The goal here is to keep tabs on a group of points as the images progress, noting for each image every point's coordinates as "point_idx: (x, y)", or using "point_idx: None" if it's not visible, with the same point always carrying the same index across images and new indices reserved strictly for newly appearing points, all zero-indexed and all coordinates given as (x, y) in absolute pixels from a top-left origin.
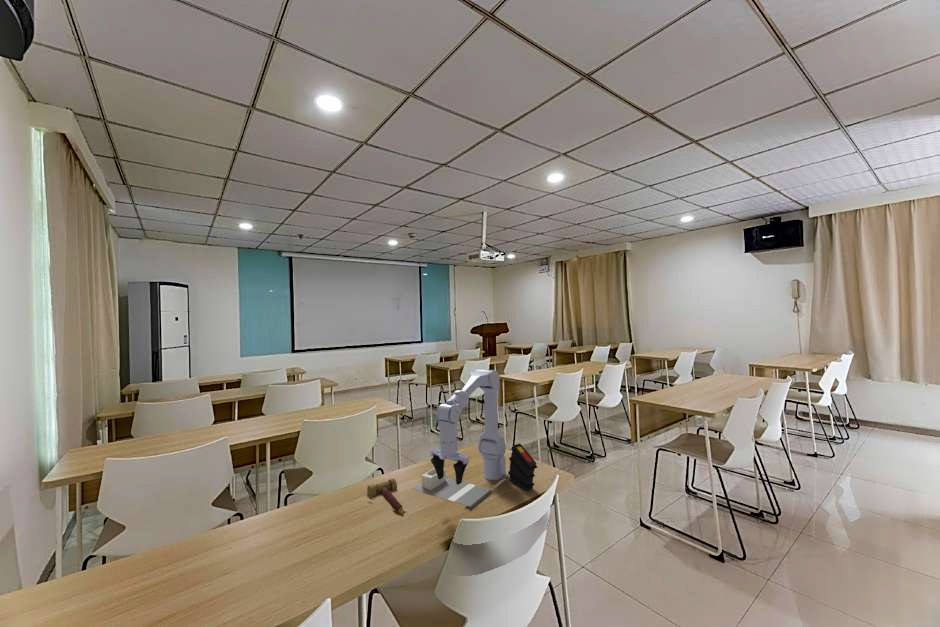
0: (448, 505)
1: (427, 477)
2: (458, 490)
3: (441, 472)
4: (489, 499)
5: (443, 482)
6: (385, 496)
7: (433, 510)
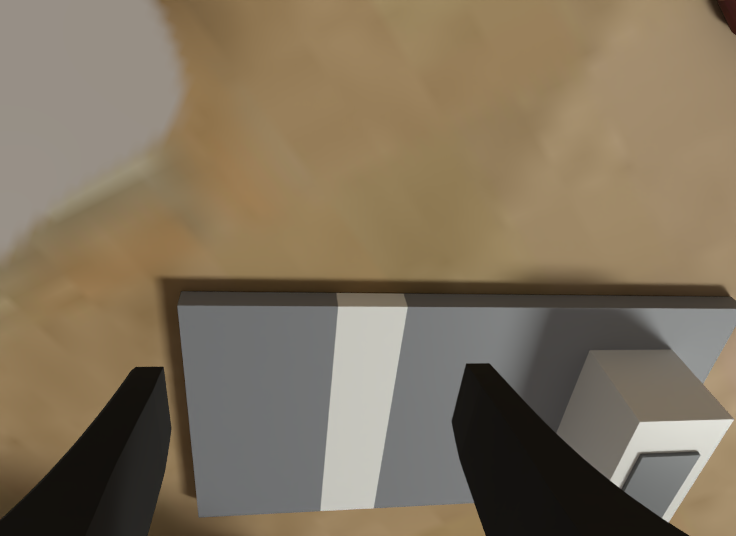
0: (370, 263)
1: (671, 418)
2: (394, 425)
3: (483, 461)
4: None
5: None
6: None
7: (446, 149)
